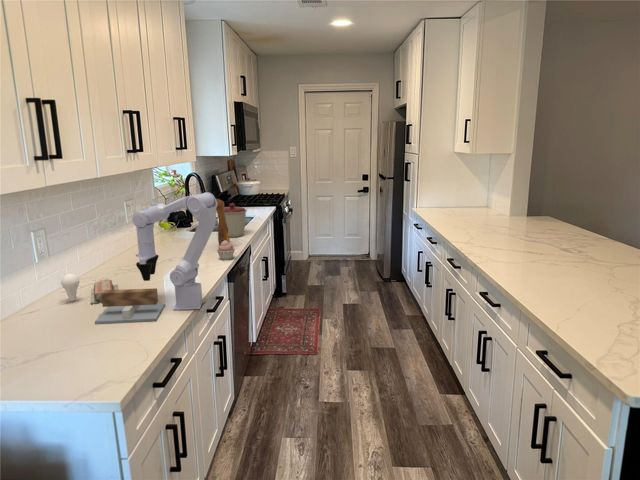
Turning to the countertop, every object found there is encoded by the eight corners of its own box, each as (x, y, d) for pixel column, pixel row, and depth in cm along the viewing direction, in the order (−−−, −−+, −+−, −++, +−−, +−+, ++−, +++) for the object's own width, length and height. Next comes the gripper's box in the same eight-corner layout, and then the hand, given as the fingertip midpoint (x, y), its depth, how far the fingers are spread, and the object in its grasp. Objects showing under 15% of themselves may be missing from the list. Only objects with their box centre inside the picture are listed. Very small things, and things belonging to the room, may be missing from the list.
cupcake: (237, 256, 231) (236, 238, 229) (232, 261, 222) (231, 242, 220) (220, 256, 232) (219, 237, 230) (214, 260, 223) (213, 241, 221)
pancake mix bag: (220, 251, 240) (217, 201, 234) (214, 244, 258) (212, 196, 251) (232, 250, 243) (230, 200, 236) (226, 243, 260) (224, 196, 254)
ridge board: (164, 305, 164) (164, 295, 163) (156, 321, 150) (155, 310, 149) (108, 308, 161) (107, 298, 160) (95, 324, 148) (93, 313, 147)
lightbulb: (78, 303, 165) (74, 276, 163) (61, 304, 164) (57, 277, 162) (84, 298, 171) (80, 271, 169) (67, 298, 170) (63, 272, 168)
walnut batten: (158, 301, 158) (157, 288, 156) (156, 304, 155) (155, 291, 153) (105, 303, 155) (104, 290, 154) (102, 306, 152) (101, 293, 151)
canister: (233, 240, 267) (232, 206, 262) (212, 236, 276) (211, 203, 271) (253, 235, 281) (252, 202, 277) (233, 231, 291) (231, 200, 286)
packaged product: (118, 290, 168) (89, 294, 163) (119, 302, 169) (90, 306, 165) (116, 276, 183) (90, 280, 179) (118, 287, 185) (91, 291, 180)
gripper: (140, 238, 169) (143, 271, 172) (129, 247, 155) (132, 283, 158) (159, 237, 170) (161, 271, 173) (149, 247, 156) (153, 283, 159)
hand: (149, 277), depth 166 cm, fingers open, 7 cm apart
